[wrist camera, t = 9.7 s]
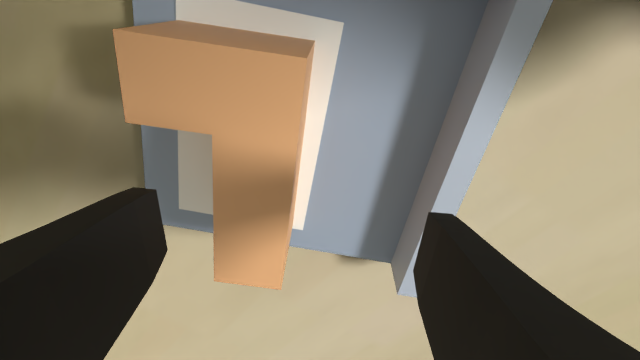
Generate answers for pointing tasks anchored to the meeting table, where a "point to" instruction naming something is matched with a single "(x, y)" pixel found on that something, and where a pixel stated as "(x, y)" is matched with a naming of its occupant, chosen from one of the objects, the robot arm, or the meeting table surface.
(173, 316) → the meeting table surface
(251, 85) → the bracket
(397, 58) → the board
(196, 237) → the meeting table surface
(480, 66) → the walls
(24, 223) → the meeting table surface
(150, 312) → the meeting table surface
